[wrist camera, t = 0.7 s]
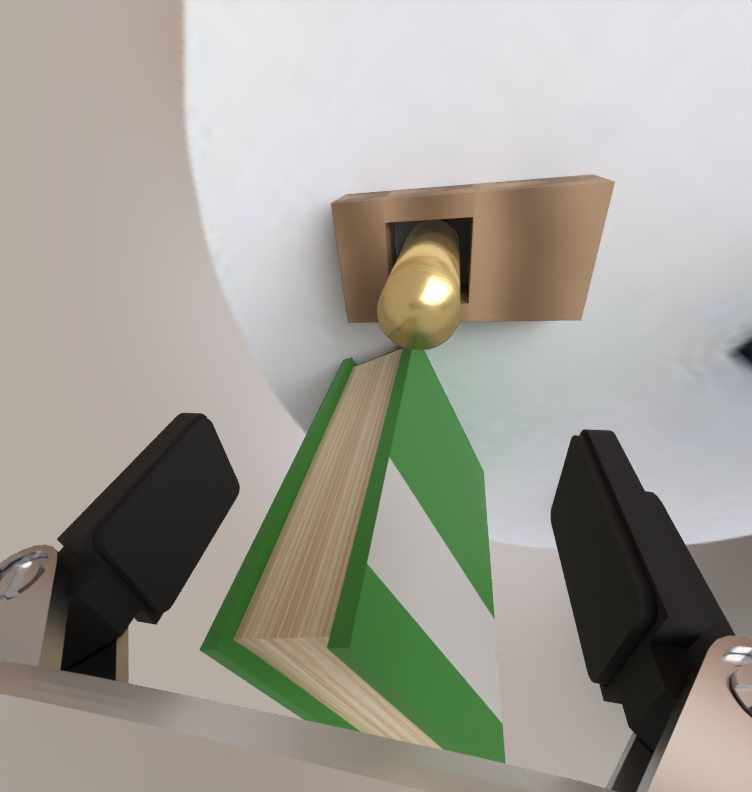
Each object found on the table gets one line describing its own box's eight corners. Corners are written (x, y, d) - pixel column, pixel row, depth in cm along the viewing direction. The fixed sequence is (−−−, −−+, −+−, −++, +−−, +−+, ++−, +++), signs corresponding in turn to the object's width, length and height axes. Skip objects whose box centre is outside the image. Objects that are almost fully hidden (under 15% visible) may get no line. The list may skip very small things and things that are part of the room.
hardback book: (343, 360, 34) (199, 649, 15) (415, 332, 31) (349, 647, 12) (420, 484, 42) (388, 776, 23) (483, 471, 39) (507, 793, 20)
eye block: (593, 174, 23) (614, 181, 20) (566, 298, 28) (581, 320, 24) (346, 194, 26) (331, 203, 23) (359, 302, 31) (348, 322, 28)
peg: (460, 217, 26) (462, 269, 16) (458, 275, 28) (458, 350, 18) (403, 221, 27) (373, 273, 17) (406, 276, 29) (380, 349, 19)
